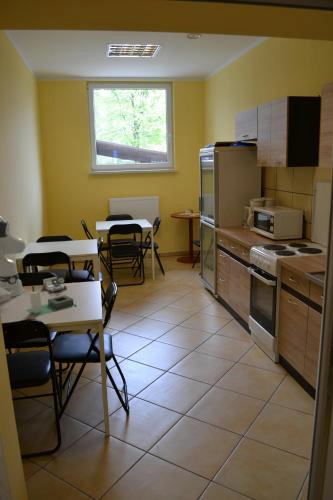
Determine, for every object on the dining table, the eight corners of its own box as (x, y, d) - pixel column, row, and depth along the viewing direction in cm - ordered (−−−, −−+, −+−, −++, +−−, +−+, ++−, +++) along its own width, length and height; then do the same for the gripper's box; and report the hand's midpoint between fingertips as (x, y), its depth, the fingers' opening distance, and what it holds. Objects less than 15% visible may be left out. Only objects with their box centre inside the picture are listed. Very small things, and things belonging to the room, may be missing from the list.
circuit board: (25, 311, 241) (25, 310, 240) (65, 300, 257) (65, 299, 257) (35, 318, 230) (35, 316, 229) (76, 306, 246) (76, 304, 246)
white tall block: (32, 311, 238) (28, 285, 234) (39, 309, 240) (36, 284, 237) (34, 313, 234) (31, 287, 231) (42, 311, 237) (39, 285, 234)
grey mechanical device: (67, 277, 276) (51, 281, 269) (68, 291, 278) (52, 294, 271) (56, 272, 289) (41, 275, 282) (57, 285, 292) (42, 289, 285)
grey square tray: (48, 304, 248) (47, 299, 247) (65, 300, 255) (64, 294, 254) (56, 309, 239) (55, 303, 239) (73, 304, 246) (73, 299, 246)
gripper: (-7, 294, 209) (19, 288, 218) (-19, 287, 224) (6, 281, 233) (-6, 306, 210) (20, 299, 219) (-17, 297, 225) (7, 291, 234)
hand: (13, 290), depth 226 cm, fingers open, 8 cm apart
